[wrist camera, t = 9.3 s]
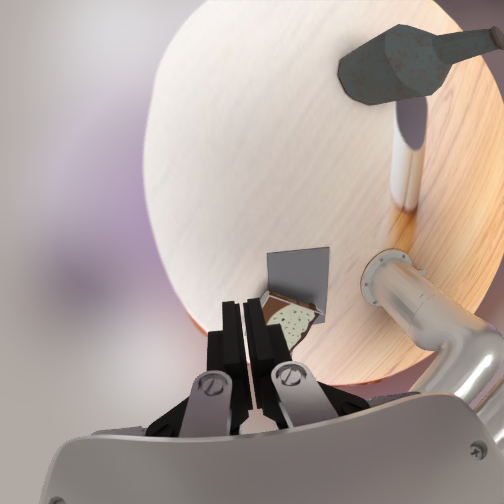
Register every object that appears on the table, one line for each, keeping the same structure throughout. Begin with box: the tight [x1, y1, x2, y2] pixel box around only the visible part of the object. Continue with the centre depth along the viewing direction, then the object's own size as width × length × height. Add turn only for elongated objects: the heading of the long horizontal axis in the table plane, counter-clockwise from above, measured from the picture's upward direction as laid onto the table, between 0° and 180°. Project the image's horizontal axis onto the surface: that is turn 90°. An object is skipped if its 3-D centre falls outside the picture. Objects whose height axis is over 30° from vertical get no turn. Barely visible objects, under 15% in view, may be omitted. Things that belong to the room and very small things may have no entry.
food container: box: [245, 290, 325, 358], centre depth 48 cm, size 12×6×10 cm
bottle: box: [338, 24, 504, 105], centre depth 22 cm, size 10×10×30 cm
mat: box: [267, 247, 329, 324], centre depth 49 cm, size 11×16×1 cm
